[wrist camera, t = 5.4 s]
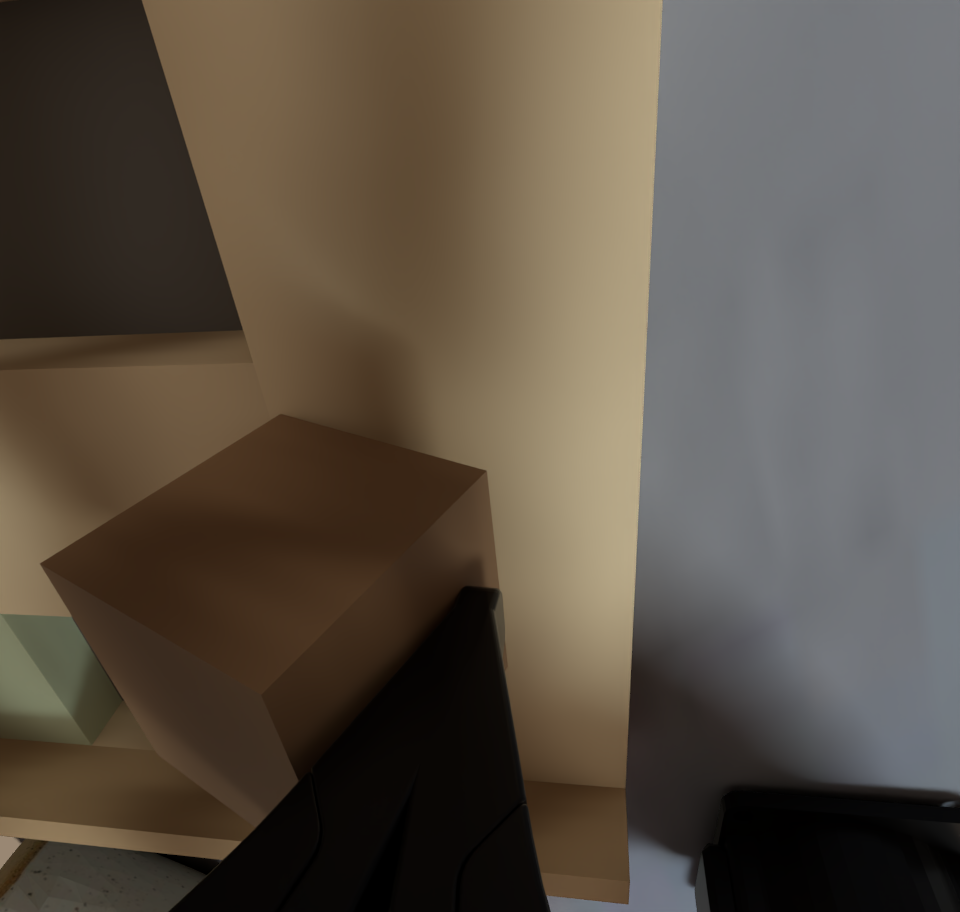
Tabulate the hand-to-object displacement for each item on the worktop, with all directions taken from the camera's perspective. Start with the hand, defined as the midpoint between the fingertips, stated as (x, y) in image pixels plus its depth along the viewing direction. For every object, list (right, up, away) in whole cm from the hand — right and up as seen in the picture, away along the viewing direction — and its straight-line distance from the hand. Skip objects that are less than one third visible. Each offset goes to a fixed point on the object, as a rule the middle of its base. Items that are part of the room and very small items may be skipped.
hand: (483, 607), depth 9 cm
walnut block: (-1, +1, +1) cm, 2 cm away
